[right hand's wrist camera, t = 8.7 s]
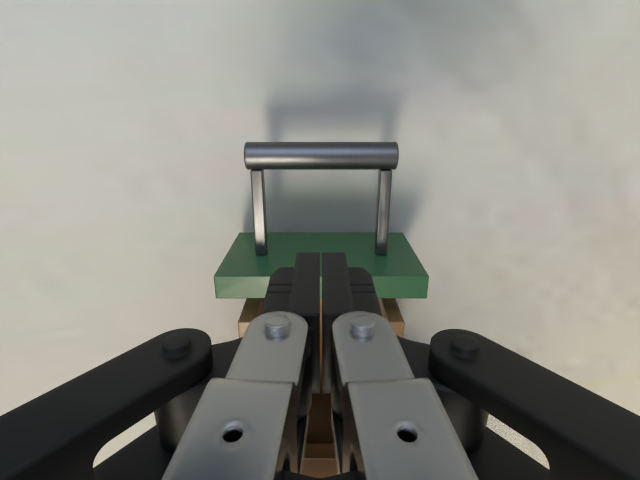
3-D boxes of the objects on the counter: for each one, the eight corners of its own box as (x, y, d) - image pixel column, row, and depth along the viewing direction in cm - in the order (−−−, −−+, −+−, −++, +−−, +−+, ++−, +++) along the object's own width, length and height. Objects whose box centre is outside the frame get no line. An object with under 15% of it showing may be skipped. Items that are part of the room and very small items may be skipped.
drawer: (231, 135, 22) (200, 149, 17) (410, 135, 22) (442, 149, 17) (256, 463, 31) (241, 549, 25) (384, 463, 31) (400, 549, 25)
